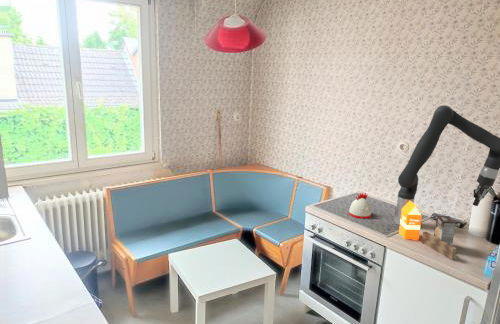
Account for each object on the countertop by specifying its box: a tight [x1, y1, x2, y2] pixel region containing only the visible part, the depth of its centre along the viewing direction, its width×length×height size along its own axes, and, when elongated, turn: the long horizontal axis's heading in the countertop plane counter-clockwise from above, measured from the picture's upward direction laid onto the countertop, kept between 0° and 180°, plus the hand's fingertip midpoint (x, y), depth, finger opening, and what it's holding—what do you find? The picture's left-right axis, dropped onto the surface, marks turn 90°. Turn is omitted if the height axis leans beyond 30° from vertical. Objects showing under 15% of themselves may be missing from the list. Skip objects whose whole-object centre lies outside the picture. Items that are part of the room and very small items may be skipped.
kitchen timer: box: [348, 192, 372, 220], centre depth 223 cm, size 14×14×15 cm
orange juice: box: [398, 201, 422, 241], centre depth 192 cm, size 8×9×20 cm
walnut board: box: [421, 231, 457, 261], centre depth 177 cm, size 20×2×6 cm, turn 15°
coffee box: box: [433, 215, 457, 246], centre depth 180 cm, size 9×6×16 cm
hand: (475, 205), depth 185 cm, fingers closed
